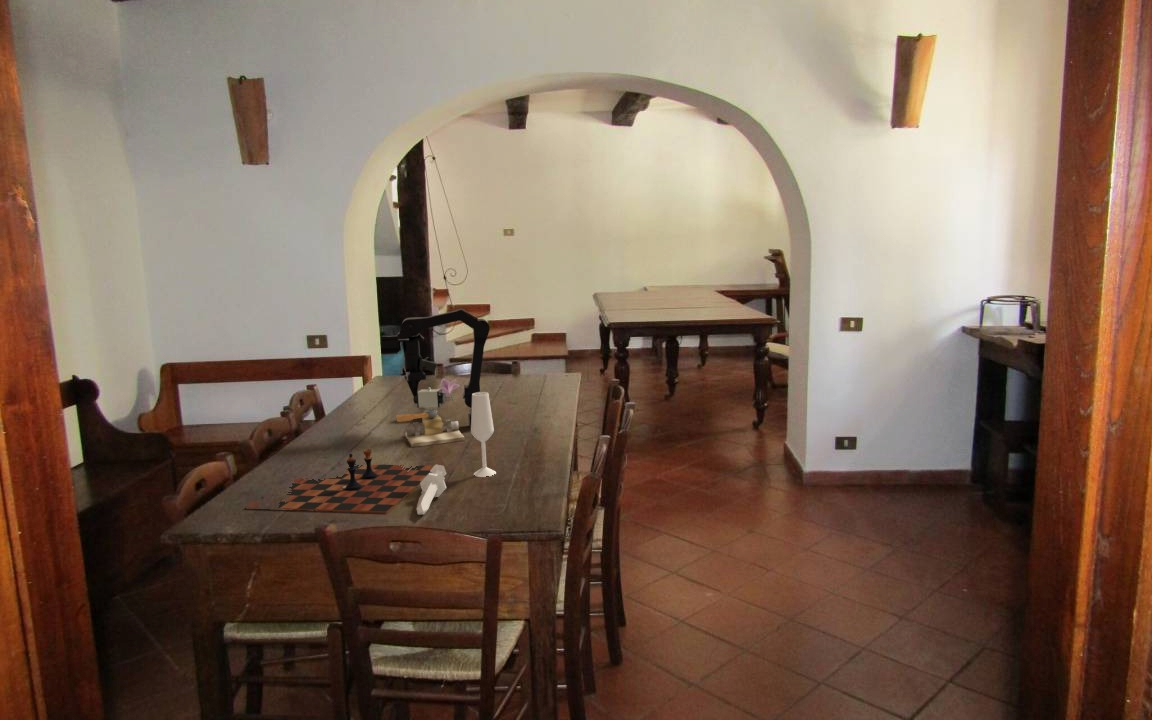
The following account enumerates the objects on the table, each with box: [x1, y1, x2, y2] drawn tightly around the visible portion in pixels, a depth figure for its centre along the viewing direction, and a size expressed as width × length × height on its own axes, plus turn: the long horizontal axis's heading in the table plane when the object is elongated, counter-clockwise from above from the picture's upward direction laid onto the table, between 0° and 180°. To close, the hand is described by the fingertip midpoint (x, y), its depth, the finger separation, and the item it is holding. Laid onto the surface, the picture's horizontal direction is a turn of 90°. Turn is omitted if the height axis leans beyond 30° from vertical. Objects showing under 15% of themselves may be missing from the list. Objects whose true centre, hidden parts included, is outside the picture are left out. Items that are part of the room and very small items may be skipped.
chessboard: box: [246, 448, 435, 515], centre depth 218 cm, size 40×40×11 cm
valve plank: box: [404, 415, 466, 448], centre depth 266 cm, size 18×16×7 cm
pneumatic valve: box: [412, 387, 447, 418], centre depth 296 cm, size 6×12×12 cm, turn 82°
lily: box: [437, 378, 461, 401], centre depth 328 cm, size 12×12×10 cm
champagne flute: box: [470, 391, 497, 478], centre depth 223 cm, size 7×7×24 cm
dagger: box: [416, 463, 447, 516], centre depth 203 cm, size 8×6×28 cm
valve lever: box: [396, 410, 437, 423], centre depth 266 cm, size 3×14×2 cm, turn 113°
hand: (414, 396), depth 275 cm, fingers closed
